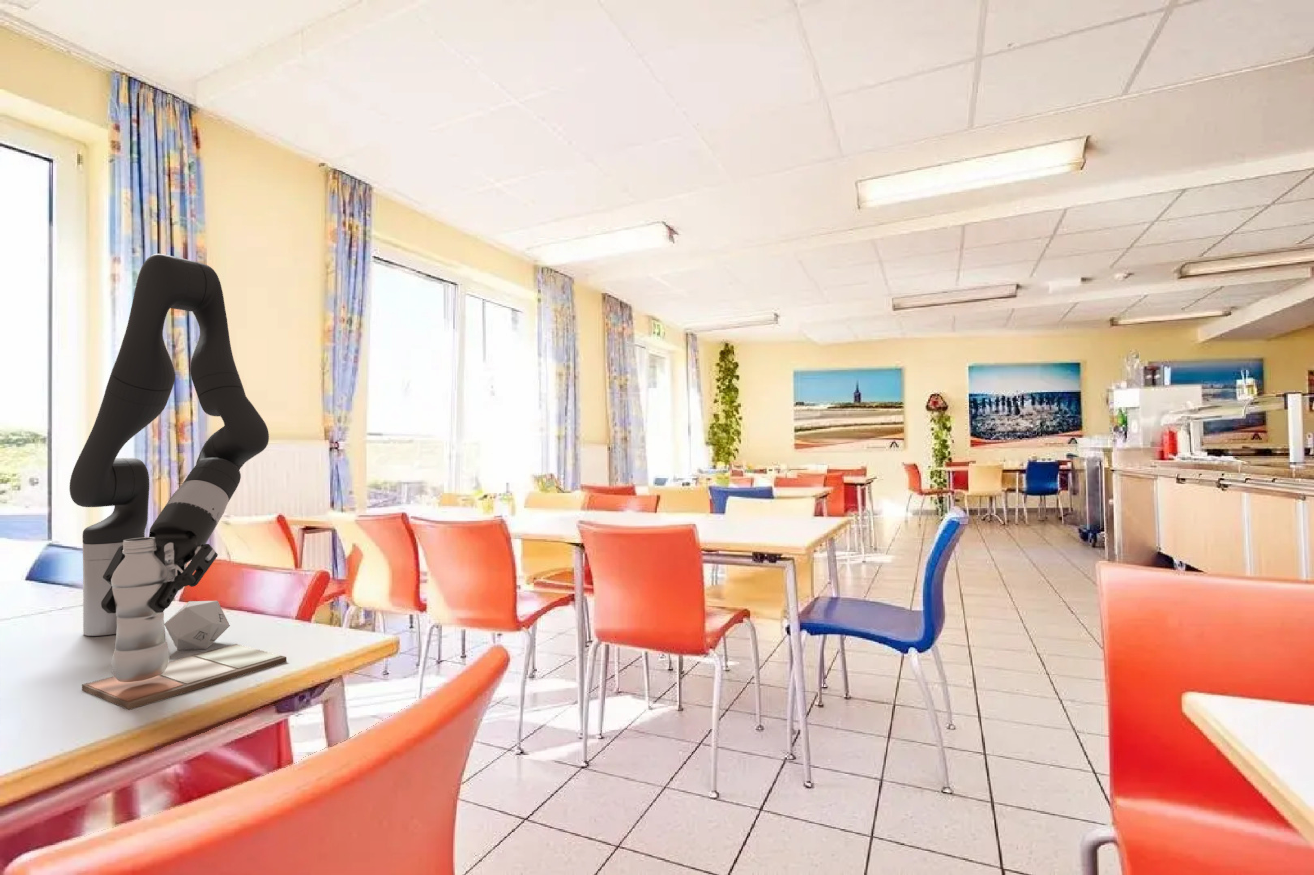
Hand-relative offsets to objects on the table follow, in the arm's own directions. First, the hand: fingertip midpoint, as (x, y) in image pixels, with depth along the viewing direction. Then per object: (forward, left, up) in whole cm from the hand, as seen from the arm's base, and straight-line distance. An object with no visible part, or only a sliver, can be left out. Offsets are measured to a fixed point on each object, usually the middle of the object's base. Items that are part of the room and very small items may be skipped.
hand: (131, 609), depth 90 cm
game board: (-3, +8, -12) cm, 15 cm away
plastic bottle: (-1, +1, -10) cm, 11 cm away
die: (-18, +16, -12) cm, 27 cm away
